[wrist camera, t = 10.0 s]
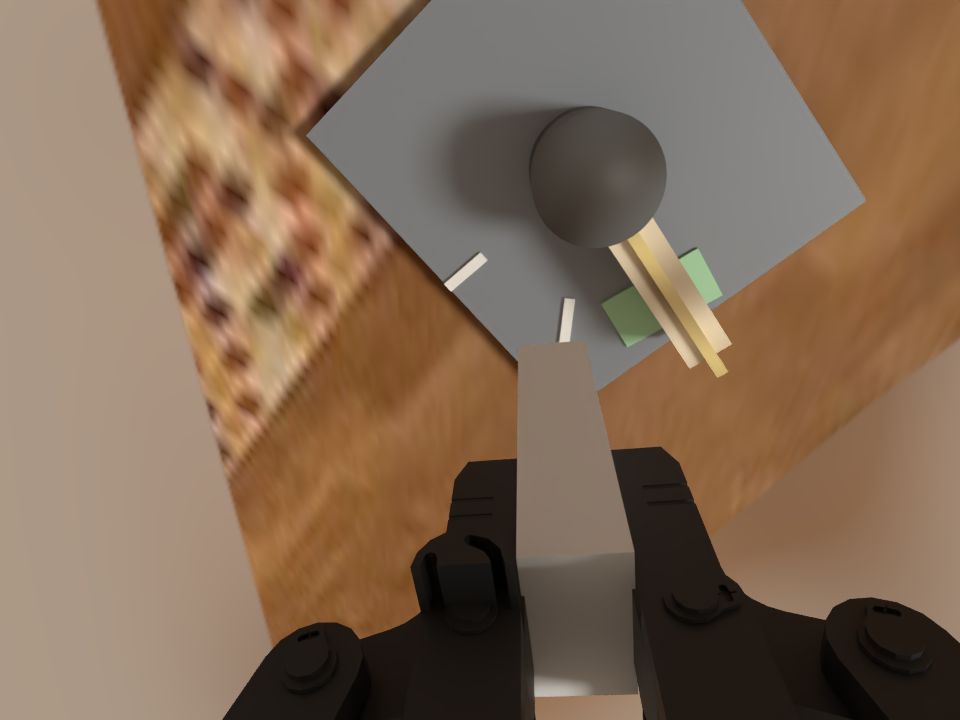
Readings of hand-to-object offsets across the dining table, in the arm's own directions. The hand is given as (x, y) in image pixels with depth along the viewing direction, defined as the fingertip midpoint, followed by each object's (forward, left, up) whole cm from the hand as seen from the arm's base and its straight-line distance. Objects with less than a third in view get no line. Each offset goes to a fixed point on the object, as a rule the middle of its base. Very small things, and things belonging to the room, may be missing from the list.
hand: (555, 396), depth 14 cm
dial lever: (-3, +4, -21) cm, 21 cm away
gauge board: (-4, 0, -22) cm, 22 cm away
